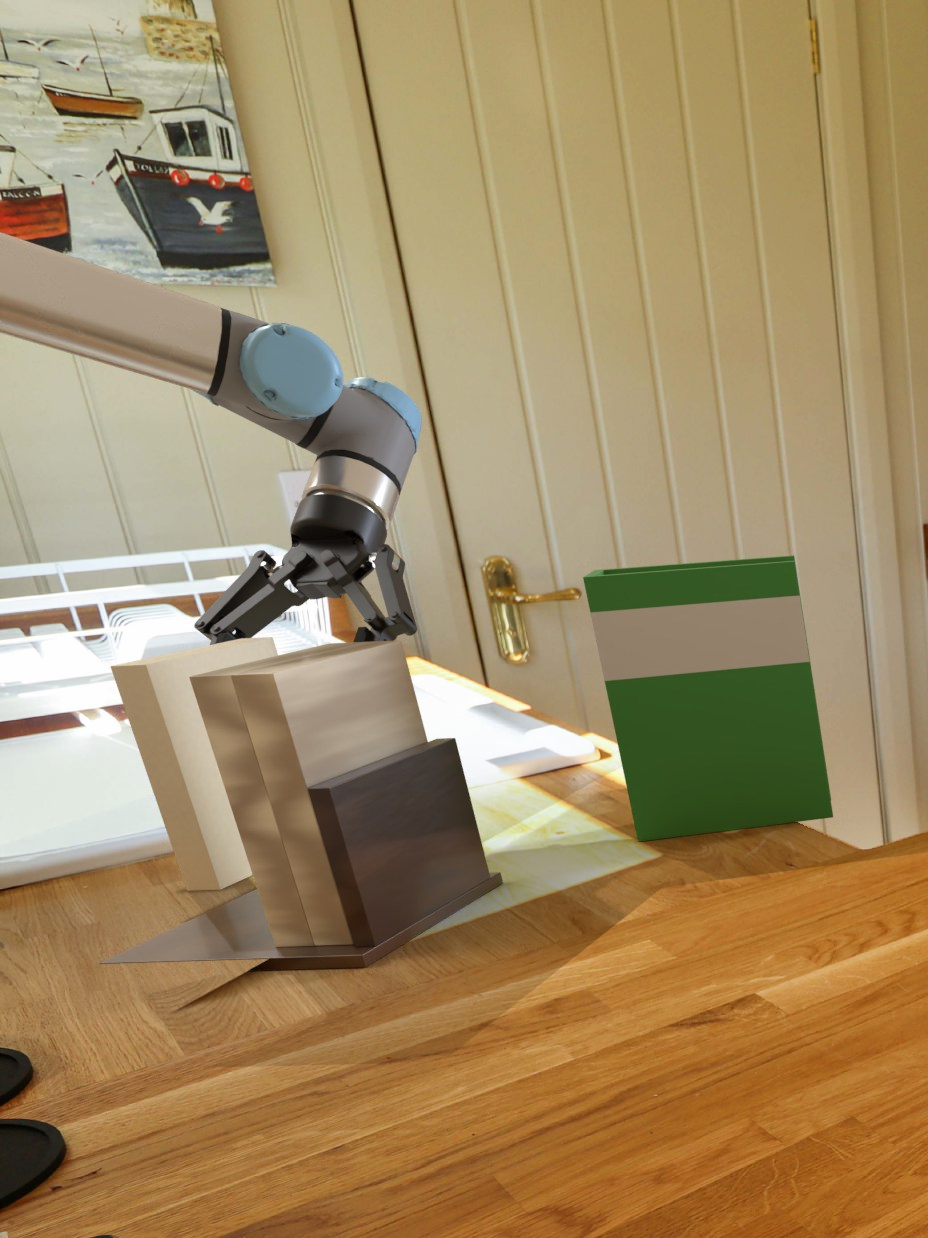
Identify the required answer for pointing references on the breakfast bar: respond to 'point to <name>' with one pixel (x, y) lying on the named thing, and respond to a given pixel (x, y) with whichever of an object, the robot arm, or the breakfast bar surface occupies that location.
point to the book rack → (331, 813)
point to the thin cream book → (188, 757)
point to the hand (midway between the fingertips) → (281, 697)
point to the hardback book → (711, 694)
